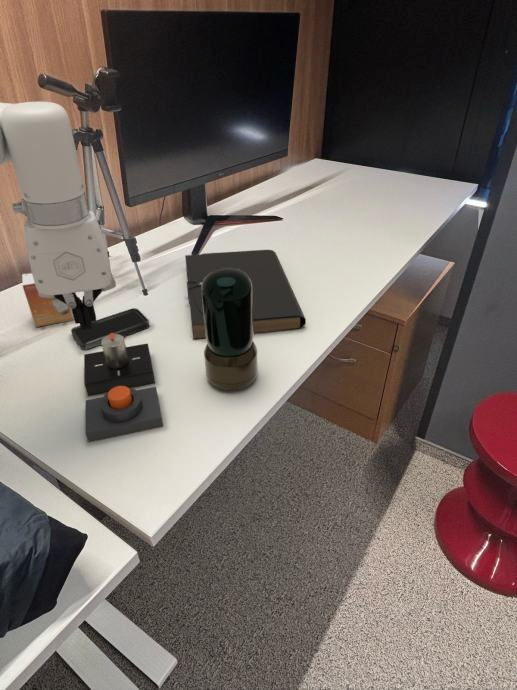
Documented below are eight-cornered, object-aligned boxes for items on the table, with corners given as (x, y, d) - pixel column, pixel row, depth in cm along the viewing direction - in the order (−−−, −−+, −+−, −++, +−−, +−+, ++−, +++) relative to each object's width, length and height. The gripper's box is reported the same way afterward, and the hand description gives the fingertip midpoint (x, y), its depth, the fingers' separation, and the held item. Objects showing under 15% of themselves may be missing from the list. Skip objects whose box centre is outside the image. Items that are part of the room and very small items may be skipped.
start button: (110, 411, 78) (107, 402, 77) (109, 397, 81) (107, 388, 79) (133, 407, 79) (131, 397, 77) (131, 393, 81) (129, 383, 80)
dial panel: (88, 396, 86) (84, 383, 84) (87, 366, 93) (83, 353, 91) (155, 383, 89) (152, 370, 87) (150, 355, 96) (147, 342, 94)
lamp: (200, 391, 87) (188, 283, 74) (213, 359, 94) (204, 256, 82) (252, 396, 86) (249, 288, 73) (261, 364, 93) (260, 260, 80)
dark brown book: (184, 254, 124) (276, 248, 127) (185, 268, 126) (275, 262, 129) (190, 323, 97) (306, 313, 101) (192, 340, 100) (305, 329, 103)
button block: (88, 442, 77) (82, 424, 75) (88, 409, 83) (82, 392, 81) (163, 426, 80) (160, 408, 78) (157, 395, 86) (154, 378, 84)
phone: (150, 322, 103) (81, 346, 96) (151, 326, 104) (82, 350, 97) (135, 306, 109) (69, 328, 102) (136, 311, 109) (70, 332, 102)
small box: (35, 328, 104) (21, 285, 98) (35, 315, 108) (20, 273, 102) (74, 320, 107) (62, 278, 100) (72, 308, 111) (60, 266, 105)
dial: (129, 366, 88) (124, 343, 85) (107, 370, 87) (101, 347, 84) (127, 354, 91) (122, 330, 88) (106, 358, 90) (100, 334, 87)
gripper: (-9, 224, 58) (32, 347, 69) (117, 212, 62) (138, 331, 72) (0, 204, 64) (37, 319, 75) (115, 194, 67) (135, 306, 78)
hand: (87, 325), depth 74 cm, fingers closed
